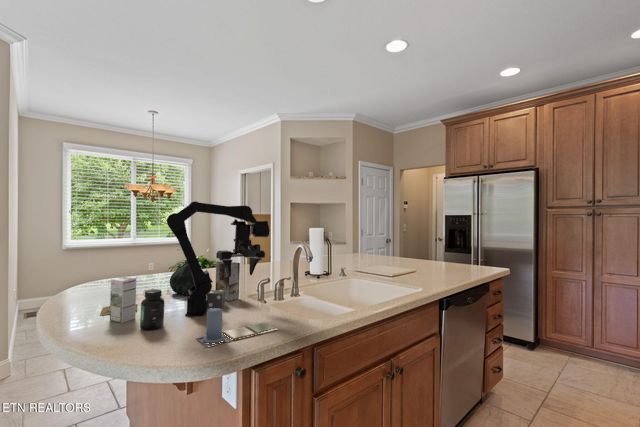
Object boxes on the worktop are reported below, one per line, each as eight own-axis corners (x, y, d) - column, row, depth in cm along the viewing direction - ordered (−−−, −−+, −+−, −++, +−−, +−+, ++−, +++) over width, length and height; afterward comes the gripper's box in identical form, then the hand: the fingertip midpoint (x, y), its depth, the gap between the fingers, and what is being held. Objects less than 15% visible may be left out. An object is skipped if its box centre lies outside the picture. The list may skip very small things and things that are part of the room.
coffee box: (239, 298, 145) (240, 262, 145) (228, 301, 139) (229, 264, 140) (225, 295, 150) (226, 260, 150) (214, 298, 144) (215, 262, 144)
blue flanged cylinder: (200, 344, 93) (201, 313, 93) (206, 336, 99) (207, 307, 99) (222, 344, 93) (223, 313, 93) (226, 336, 99) (227, 307, 99)
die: (206, 308, 128) (207, 293, 128) (210, 304, 134) (210, 289, 134) (221, 308, 129) (222, 293, 129) (224, 304, 135) (225, 289, 135)
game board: (205, 347, 90) (206, 345, 90) (195, 339, 96) (196, 336, 96) (278, 330, 106) (278, 327, 106) (265, 323, 112) (265, 321, 112)
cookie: (101, 308, 125) (102, 306, 125) (137, 305, 131) (137, 303, 131) (98, 317, 115) (98, 314, 115) (137, 313, 121) (137, 310, 121)
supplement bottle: (138, 332, 101) (140, 293, 101) (141, 325, 107) (142, 289, 107) (163, 329, 103) (164, 292, 103) (164, 323, 110) (165, 288, 110)
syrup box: (136, 318, 114) (137, 277, 114) (120, 323, 108) (122, 280, 108) (124, 316, 115) (125, 276, 116) (108, 321, 110) (110, 278, 110)
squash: (184, 277, 162) (174, 257, 153) (212, 280, 160) (204, 260, 151) (170, 301, 152) (159, 281, 142) (200, 304, 150) (190, 285, 140)
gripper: (228, 238, 116) (226, 281, 116) (273, 238, 128) (271, 277, 128) (216, 236, 125) (214, 276, 125) (259, 236, 137) (257, 273, 136)
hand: (240, 275), depth 128 cm, fingers open, 9 cm apart
